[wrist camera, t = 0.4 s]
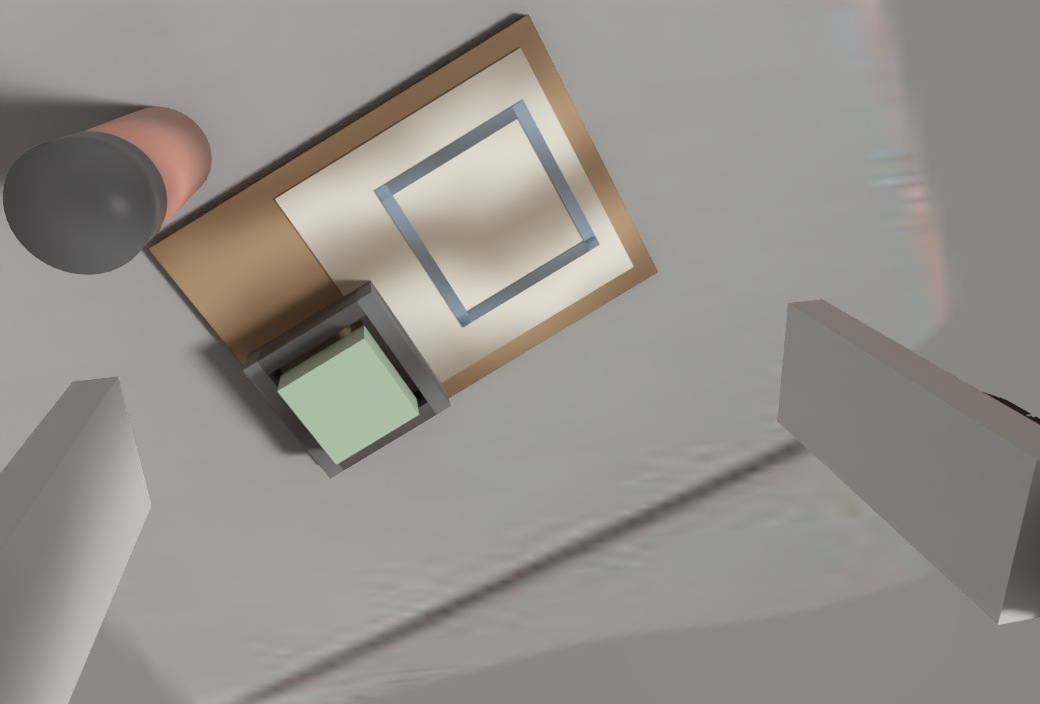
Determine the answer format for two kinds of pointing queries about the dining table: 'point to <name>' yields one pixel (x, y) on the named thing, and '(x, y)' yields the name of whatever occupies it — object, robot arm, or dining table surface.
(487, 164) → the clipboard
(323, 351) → the button
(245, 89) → the dining table surface
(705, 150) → the dining table surface
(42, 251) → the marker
